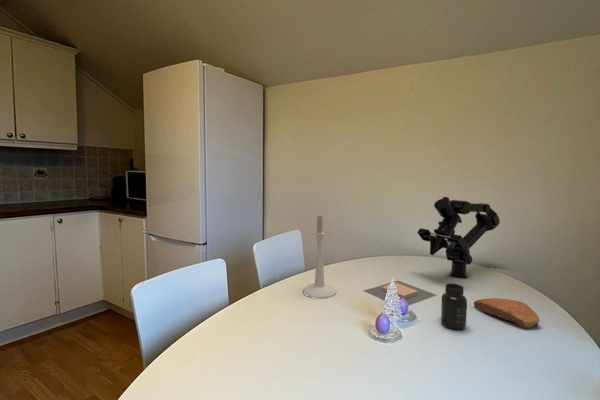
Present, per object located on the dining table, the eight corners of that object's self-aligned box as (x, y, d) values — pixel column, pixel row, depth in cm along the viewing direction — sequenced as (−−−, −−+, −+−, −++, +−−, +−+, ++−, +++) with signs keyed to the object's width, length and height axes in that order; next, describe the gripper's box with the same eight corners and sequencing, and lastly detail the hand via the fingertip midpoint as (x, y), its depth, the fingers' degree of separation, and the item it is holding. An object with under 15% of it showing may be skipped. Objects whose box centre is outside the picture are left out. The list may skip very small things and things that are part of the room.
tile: (396, 282, 123) (382, 286, 119) (417, 291, 115) (403, 295, 111) (396, 286, 123) (381, 290, 119) (417, 294, 115) (403, 299, 111)
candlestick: (297, 295, 116) (297, 215, 113) (309, 284, 128) (309, 211, 125) (330, 301, 111) (331, 217, 108) (340, 288, 123) (341, 212, 120)
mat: (398, 281, 130) (398, 280, 130) (437, 296, 115) (437, 295, 115) (362, 291, 119) (362, 290, 119) (401, 309, 104) (401, 308, 104)
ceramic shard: (494, 311, 92) (472, 297, 107) (497, 333, 92) (475, 316, 107) (547, 306, 90) (518, 293, 105) (551, 329, 90) (521, 313, 105)
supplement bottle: (463, 321, 96) (465, 283, 95) (467, 332, 90) (470, 292, 88) (439, 318, 98) (441, 281, 97) (441, 328, 92) (443, 289, 91)
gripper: (477, 240, 126) (461, 271, 122) (435, 232, 142) (419, 260, 137) (467, 223, 121) (450, 255, 117) (425, 217, 137) (408, 245, 132)
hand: (431, 254), depth 126 cm, fingers closed
